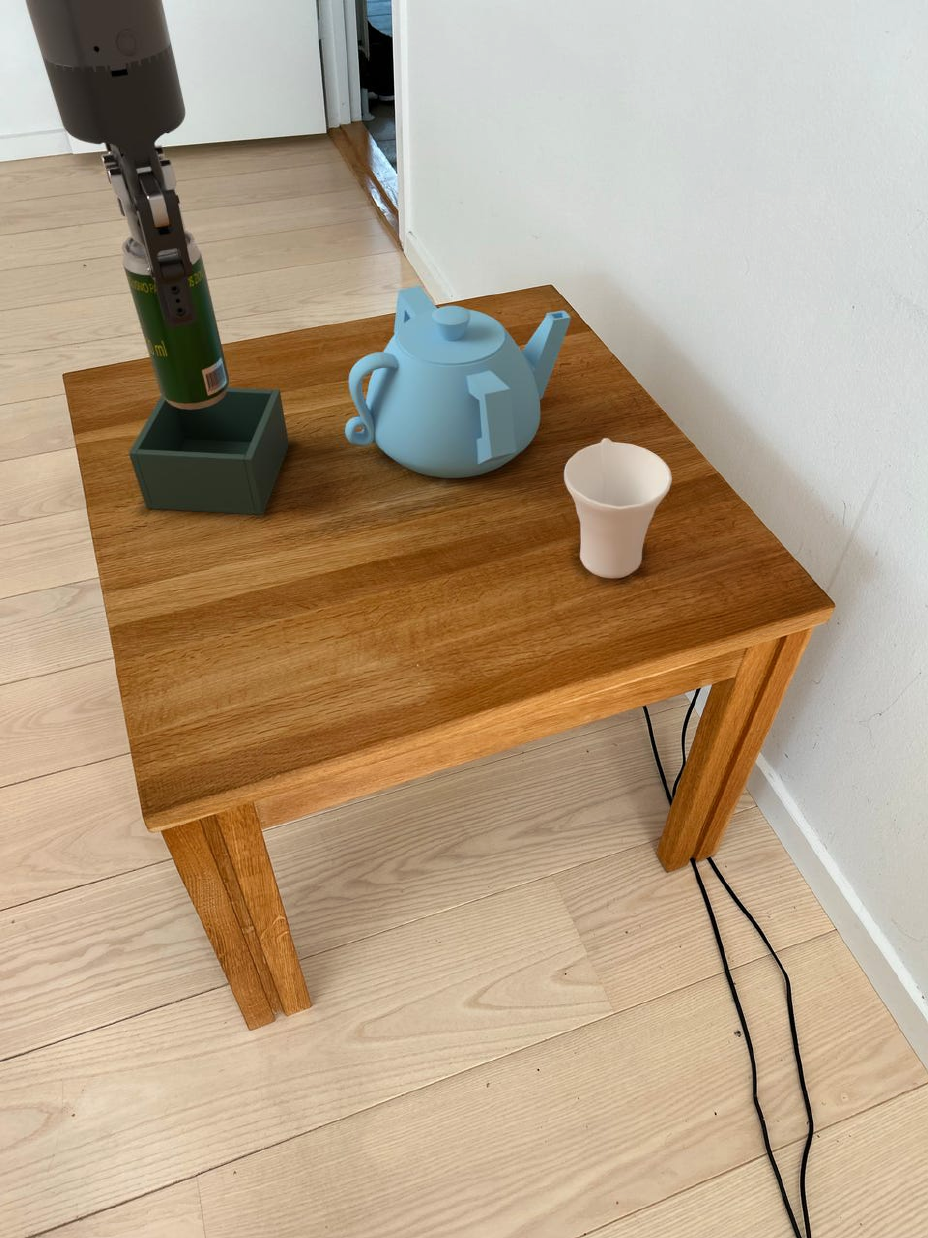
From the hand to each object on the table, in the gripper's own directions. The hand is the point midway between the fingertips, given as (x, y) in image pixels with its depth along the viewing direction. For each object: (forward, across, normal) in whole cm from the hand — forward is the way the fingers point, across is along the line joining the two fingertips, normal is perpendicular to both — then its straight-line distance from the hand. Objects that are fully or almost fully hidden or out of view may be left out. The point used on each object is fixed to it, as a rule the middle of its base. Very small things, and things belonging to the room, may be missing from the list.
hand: (173, 303), depth 67 cm
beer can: (+8, 0, 0) cm, 8 cm away
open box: (+24, -11, +1) cm, 26 cm away
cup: (+24, +15, +30) cm, 42 cm away
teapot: (+24, -8, +26) cm, 36 cm away
